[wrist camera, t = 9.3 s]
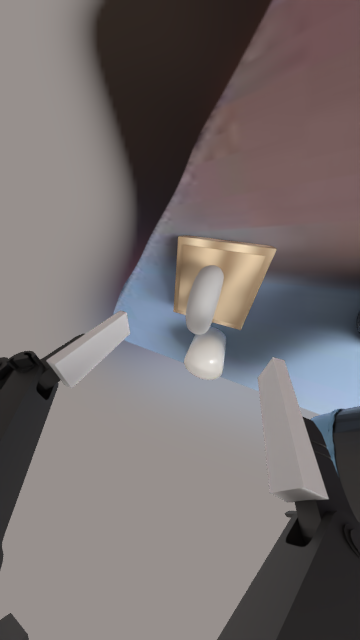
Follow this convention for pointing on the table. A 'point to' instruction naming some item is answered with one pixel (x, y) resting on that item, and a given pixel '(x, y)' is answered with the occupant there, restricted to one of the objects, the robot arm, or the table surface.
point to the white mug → (206, 354)
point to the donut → (204, 299)
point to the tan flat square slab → (238, 269)
